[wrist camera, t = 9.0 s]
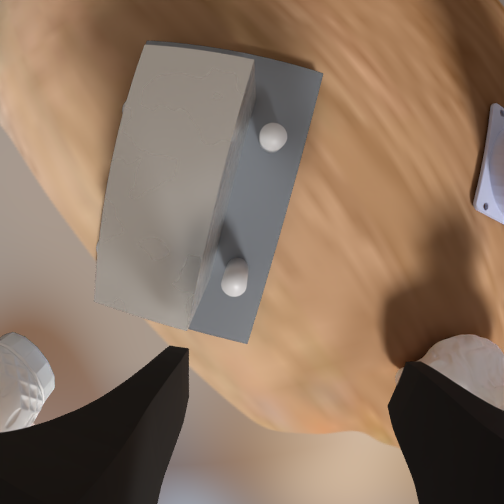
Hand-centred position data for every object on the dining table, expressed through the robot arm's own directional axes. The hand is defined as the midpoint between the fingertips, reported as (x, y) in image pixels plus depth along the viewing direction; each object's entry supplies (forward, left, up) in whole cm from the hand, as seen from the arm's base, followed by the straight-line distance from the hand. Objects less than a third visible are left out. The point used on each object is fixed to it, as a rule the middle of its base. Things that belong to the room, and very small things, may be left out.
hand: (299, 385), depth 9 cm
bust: (-15, +3, -10) cm, 18 cm away
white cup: (+19, +14, -10) cm, 25 cm away
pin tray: (+6, -4, -9) cm, 12 cm away
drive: (+6, -5, -8) cm, 11 cm away
